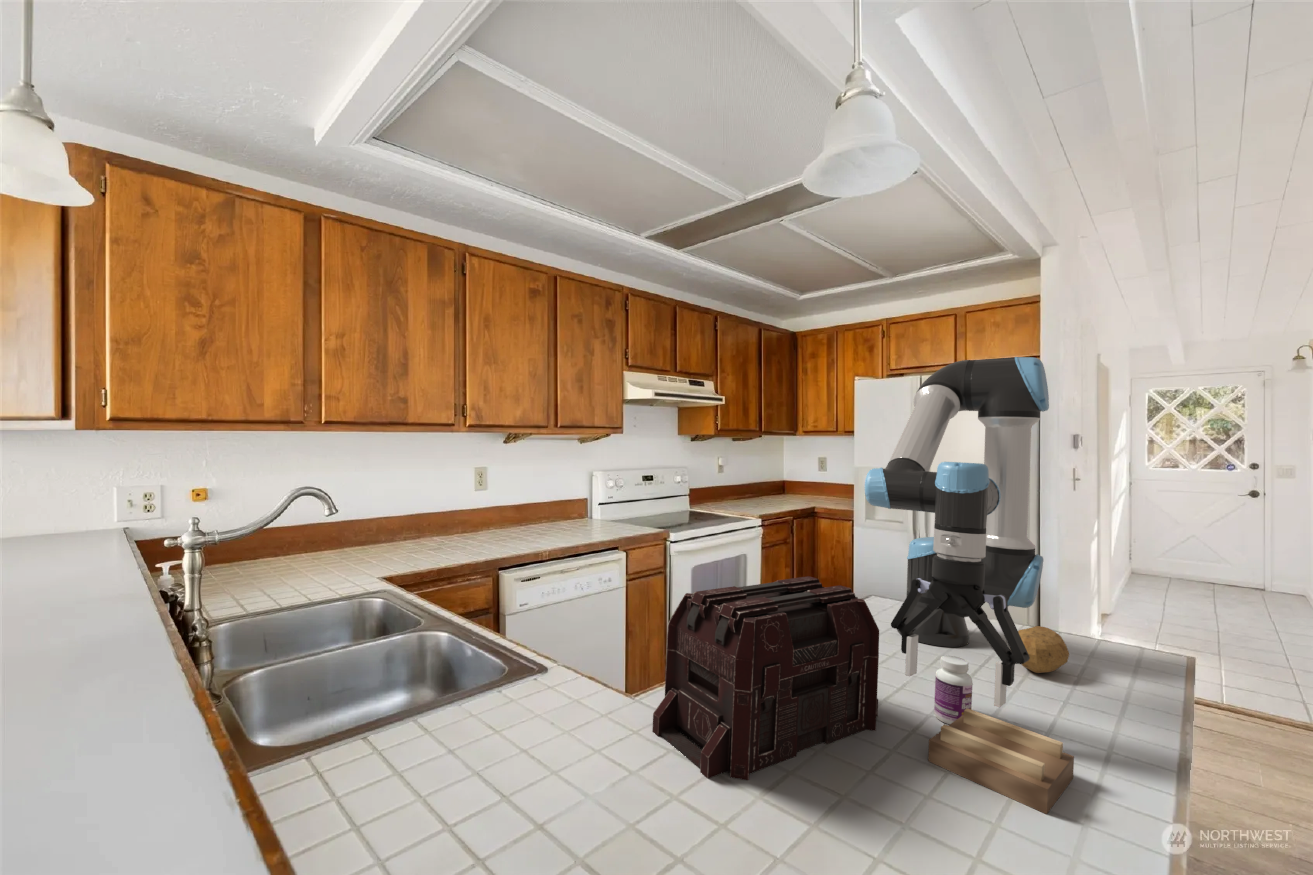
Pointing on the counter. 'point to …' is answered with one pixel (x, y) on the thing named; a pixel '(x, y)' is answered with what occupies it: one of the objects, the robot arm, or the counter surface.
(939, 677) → the pill bottle
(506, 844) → the counter surface
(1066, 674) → the counter surface
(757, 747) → the crate
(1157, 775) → the counter surface
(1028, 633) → the potato
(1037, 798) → the display pedestal
